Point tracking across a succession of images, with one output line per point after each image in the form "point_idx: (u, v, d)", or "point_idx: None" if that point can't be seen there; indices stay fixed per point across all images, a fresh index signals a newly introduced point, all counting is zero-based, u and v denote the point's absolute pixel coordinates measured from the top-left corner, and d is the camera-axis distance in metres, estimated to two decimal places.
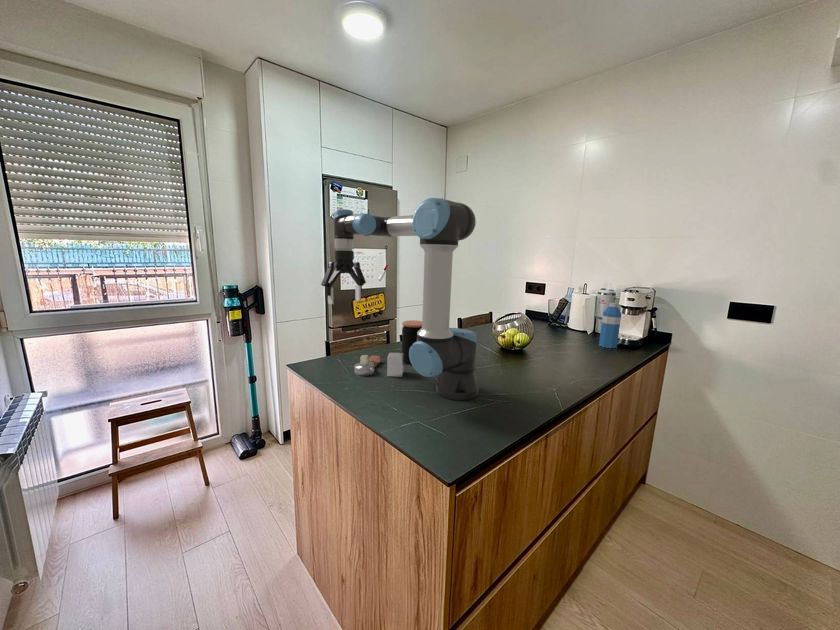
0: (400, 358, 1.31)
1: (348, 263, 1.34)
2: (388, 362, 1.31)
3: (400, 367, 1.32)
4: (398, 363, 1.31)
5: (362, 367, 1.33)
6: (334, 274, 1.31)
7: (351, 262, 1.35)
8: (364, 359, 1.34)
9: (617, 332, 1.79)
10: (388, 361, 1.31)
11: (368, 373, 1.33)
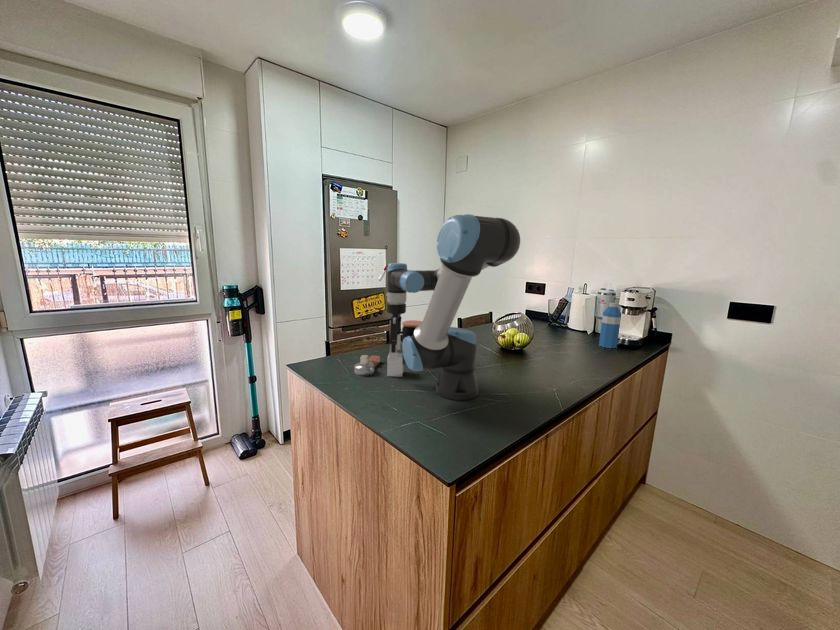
0: (400, 358, 1.31)
1: (399, 315, 1.32)
2: (388, 362, 1.31)
3: (400, 367, 1.32)
4: (398, 363, 1.31)
5: (362, 367, 1.33)
6: None
7: (399, 313, 1.33)
8: (364, 359, 1.34)
9: (617, 332, 1.79)
10: (388, 361, 1.31)
11: (368, 373, 1.33)
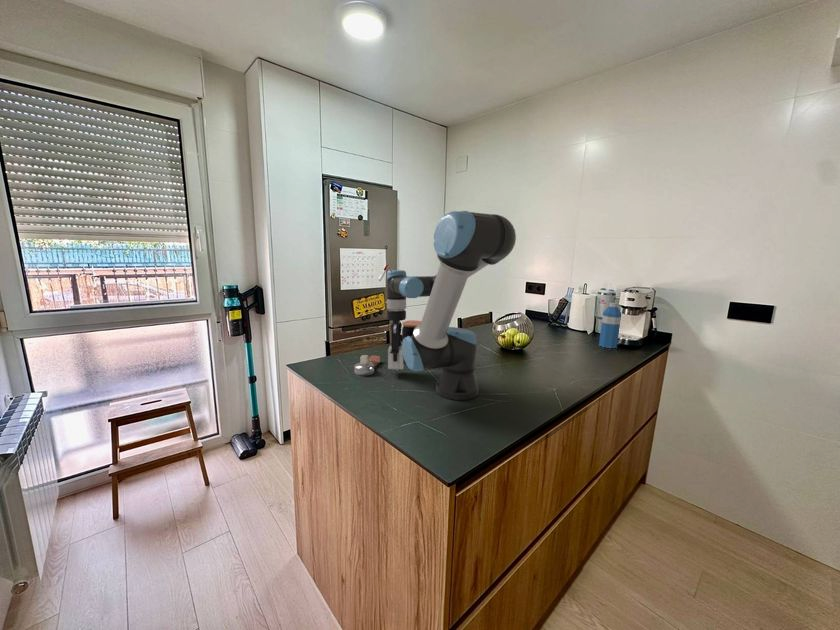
0: (401, 350, 1.30)
1: (399, 320, 1.32)
2: (389, 354, 1.30)
3: (401, 359, 1.30)
4: (399, 355, 1.30)
5: (362, 367, 1.33)
6: None
7: None
8: (364, 359, 1.34)
9: (617, 332, 1.79)
10: (389, 353, 1.30)
11: (368, 373, 1.33)
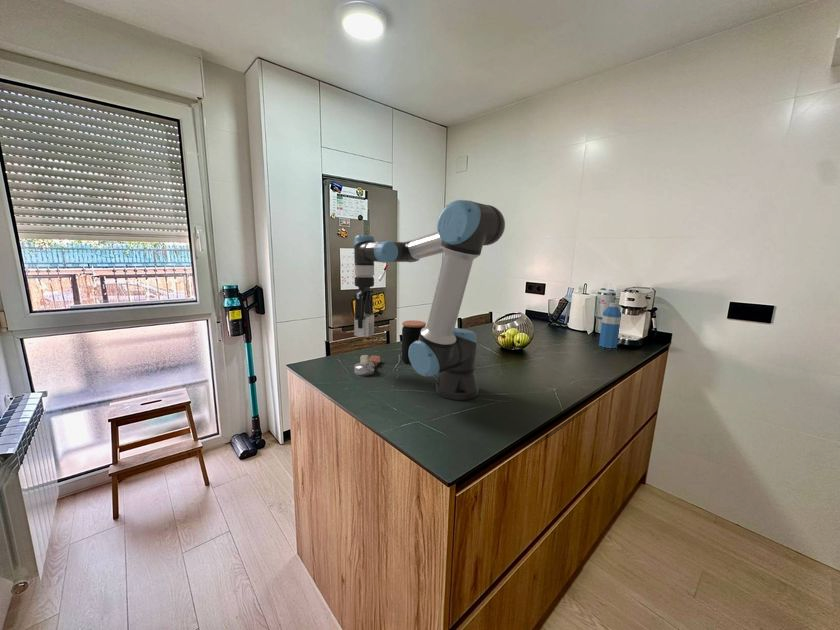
0: (366, 317, 1.28)
1: (368, 287, 1.31)
2: (355, 321, 1.30)
3: (367, 327, 1.29)
4: (365, 322, 1.29)
5: (362, 367, 1.33)
6: None
7: (369, 288, 1.32)
8: (364, 359, 1.34)
9: (617, 332, 1.79)
10: (355, 320, 1.30)
11: (368, 373, 1.33)
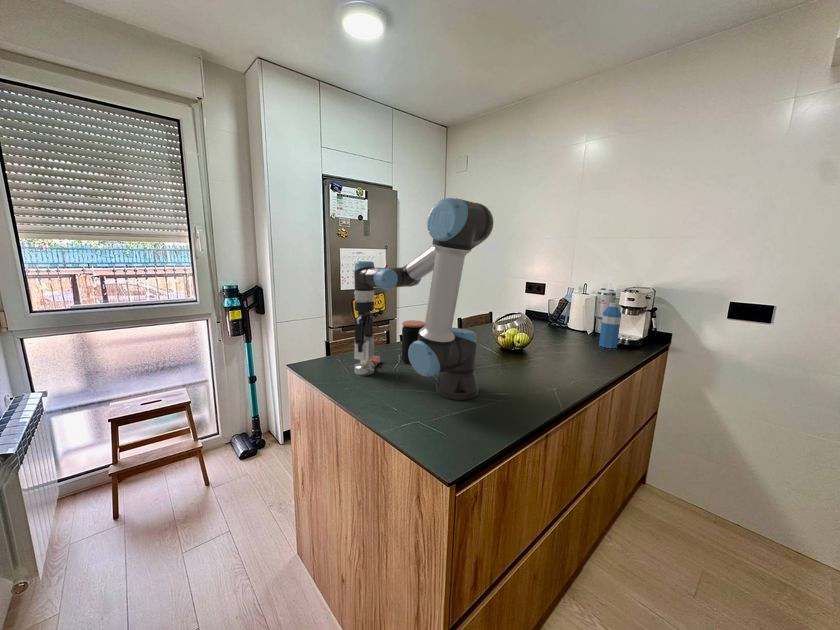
0: (366, 341, 1.30)
1: (368, 311, 1.32)
2: (355, 345, 1.31)
3: (366, 350, 1.31)
4: None
5: (362, 367, 1.33)
6: None
7: (369, 311, 1.34)
8: None
9: (617, 332, 1.79)
10: (355, 344, 1.31)
11: (368, 373, 1.33)
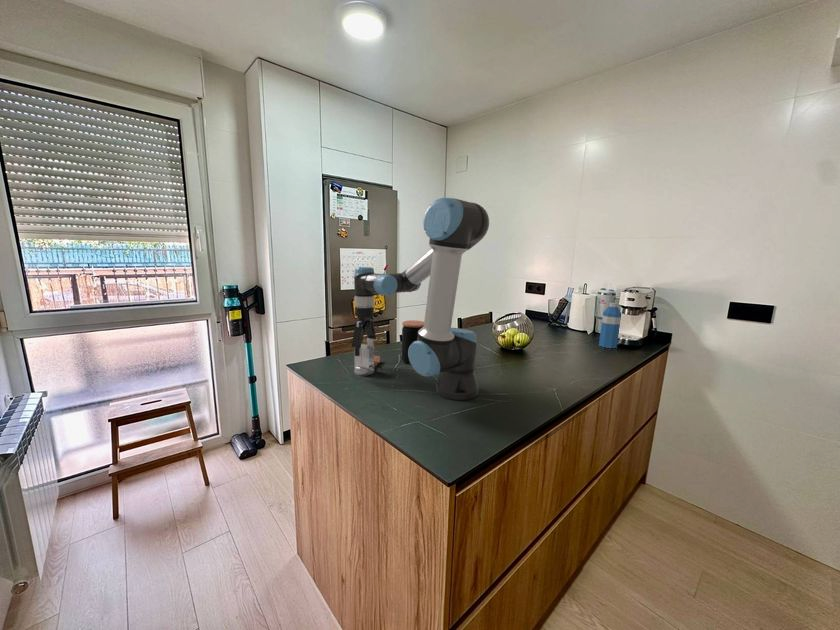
0: (367, 349, 1.31)
1: (368, 319, 1.33)
2: None
3: (367, 359, 1.31)
4: (365, 354, 1.31)
5: None
6: None
7: (369, 317, 1.34)
8: None
9: (617, 332, 1.79)
10: None
11: (368, 373, 1.33)
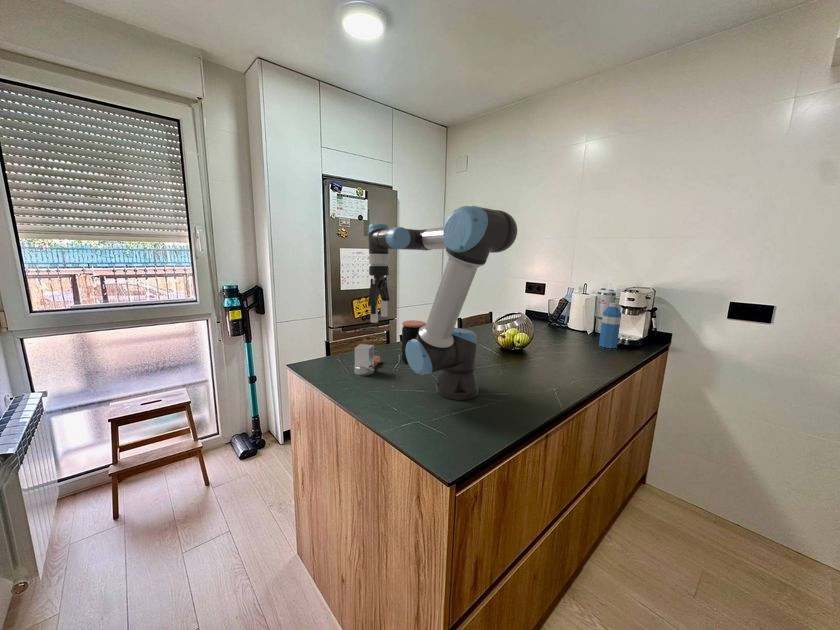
0: (367, 349, 1.31)
1: (382, 279, 1.30)
2: (355, 353, 1.32)
3: (367, 359, 1.31)
4: (365, 354, 1.31)
5: None
6: None
7: (383, 277, 1.31)
8: None
9: (617, 332, 1.79)
10: (355, 352, 1.32)
11: (368, 373, 1.33)
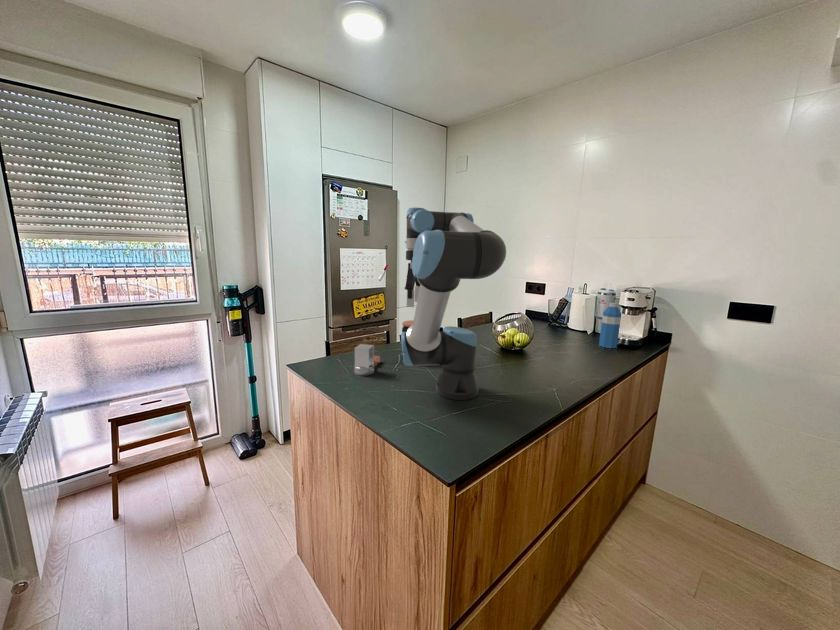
0: (367, 349, 1.31)
1: None
2: (355, 353, 1.32)
3: (367, 359, 1.31)
4: (365, 354, 1.31)
5: None
6: None
7: None
8: None
9: (617, 332, 1.79)
10: (355, 352, 1.32)
11: (368, 373, 1.33)
